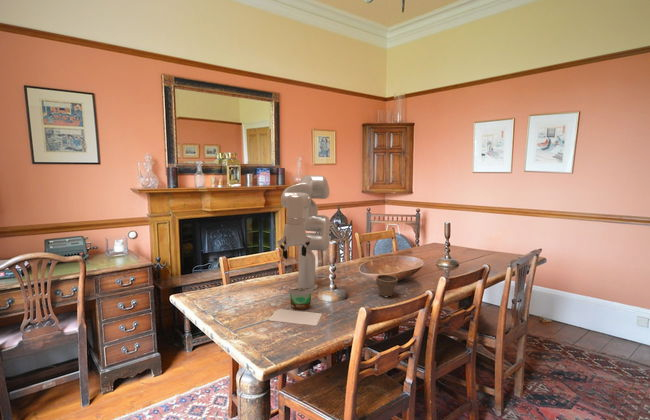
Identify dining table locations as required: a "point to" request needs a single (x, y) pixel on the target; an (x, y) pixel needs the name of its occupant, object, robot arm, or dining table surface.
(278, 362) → the dining table surface
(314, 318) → the mat
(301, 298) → the food container
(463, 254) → the dining table surface
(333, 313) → the dining table surface
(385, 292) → the flower pot
